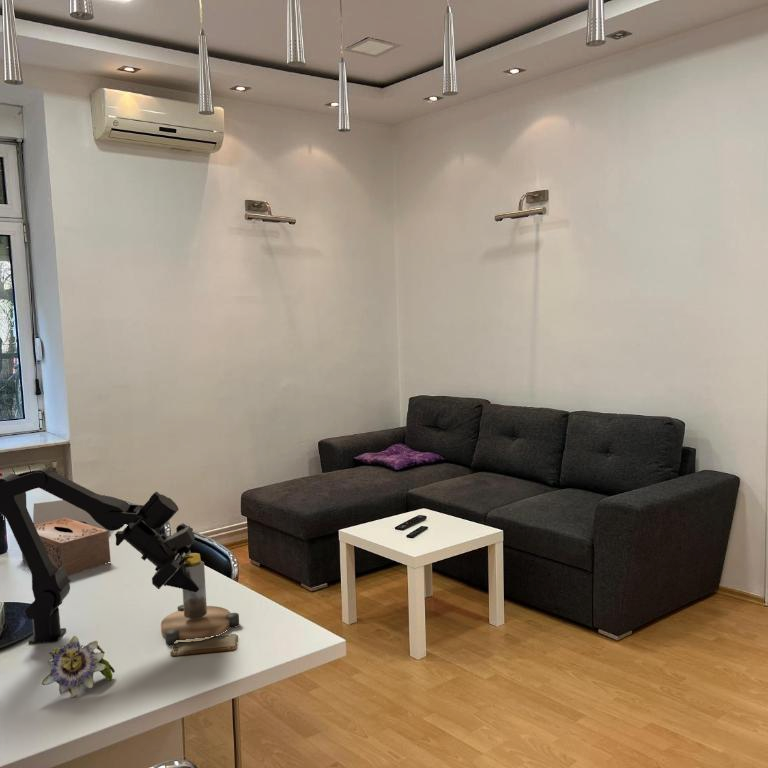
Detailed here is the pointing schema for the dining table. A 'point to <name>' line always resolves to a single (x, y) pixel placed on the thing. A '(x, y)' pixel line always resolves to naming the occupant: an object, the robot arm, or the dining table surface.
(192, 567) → the gold-capped silver cylinder
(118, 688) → the dining table surface
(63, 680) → the passion flower
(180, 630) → the base plate
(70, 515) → the portable electronic device stand
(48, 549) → the tissue box cover
